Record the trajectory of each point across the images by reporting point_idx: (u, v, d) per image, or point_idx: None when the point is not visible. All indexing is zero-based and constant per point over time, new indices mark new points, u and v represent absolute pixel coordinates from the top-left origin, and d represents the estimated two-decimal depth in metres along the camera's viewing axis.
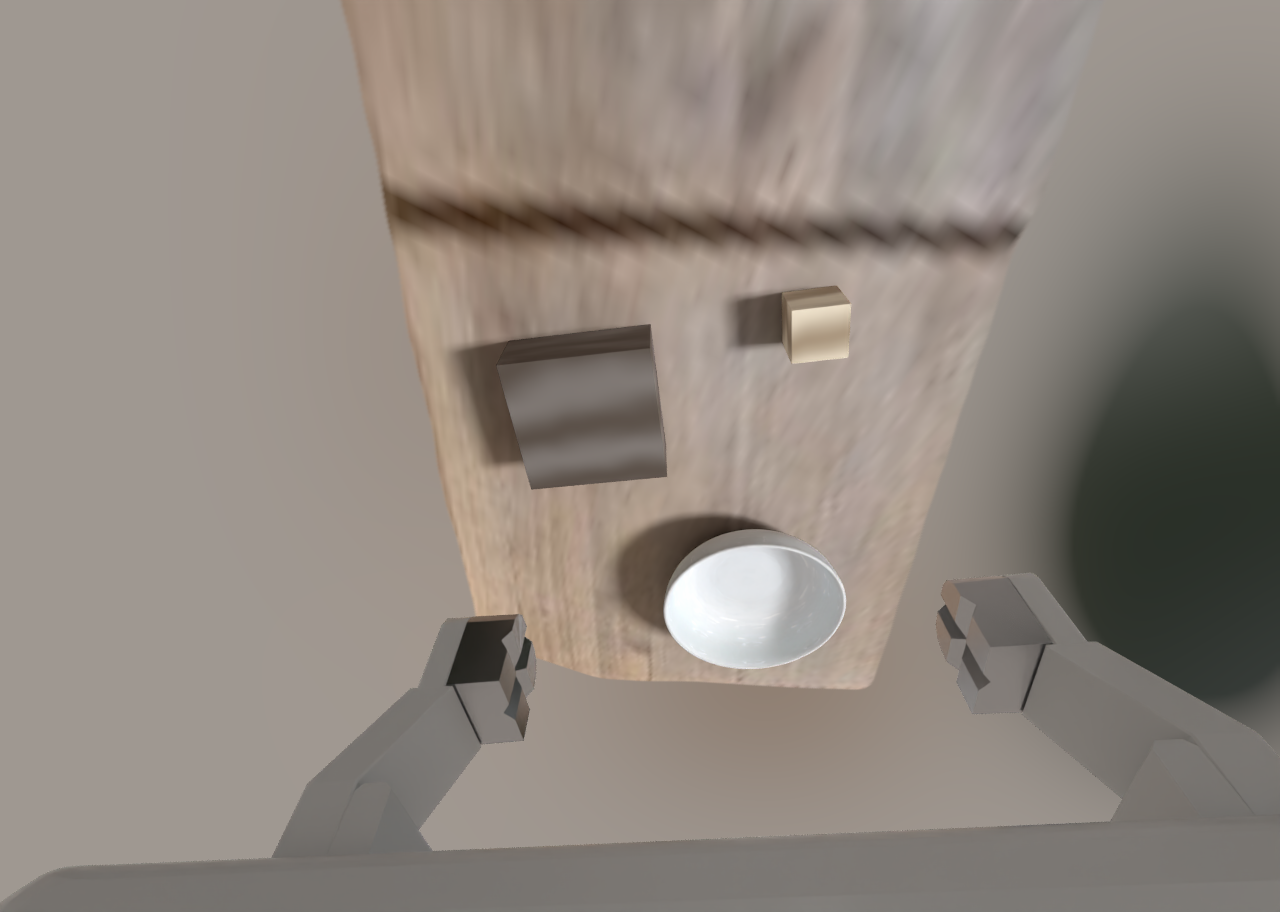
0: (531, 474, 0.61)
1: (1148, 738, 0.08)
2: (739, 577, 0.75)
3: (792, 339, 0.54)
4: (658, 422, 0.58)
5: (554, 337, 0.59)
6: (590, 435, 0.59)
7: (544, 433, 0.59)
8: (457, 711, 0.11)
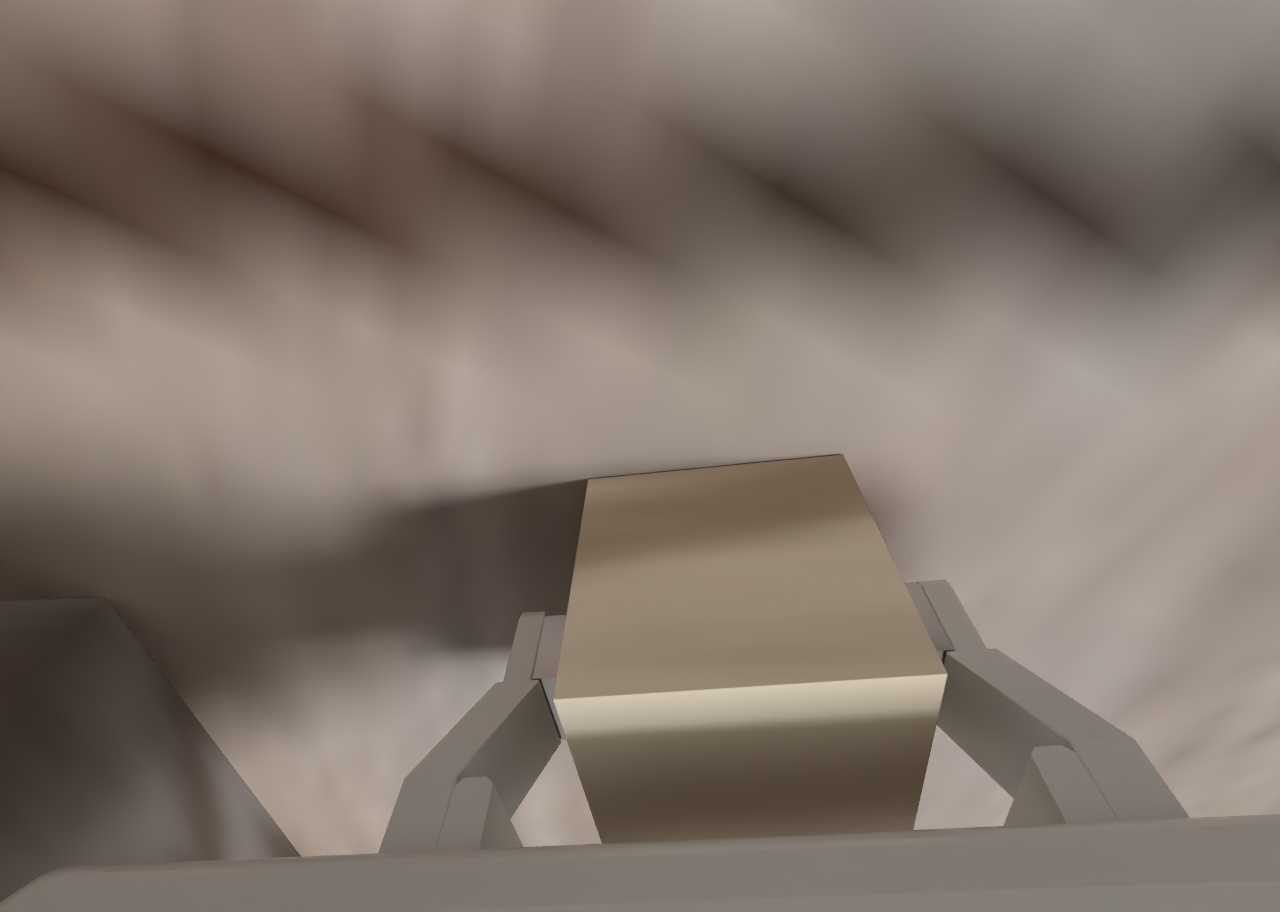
0: None
1: (1036, 745, 0.09)
2: None
3: (594, 801, 0.09)
4: None
5: None
6: None
7: None
8: (542, 706, 0.10)
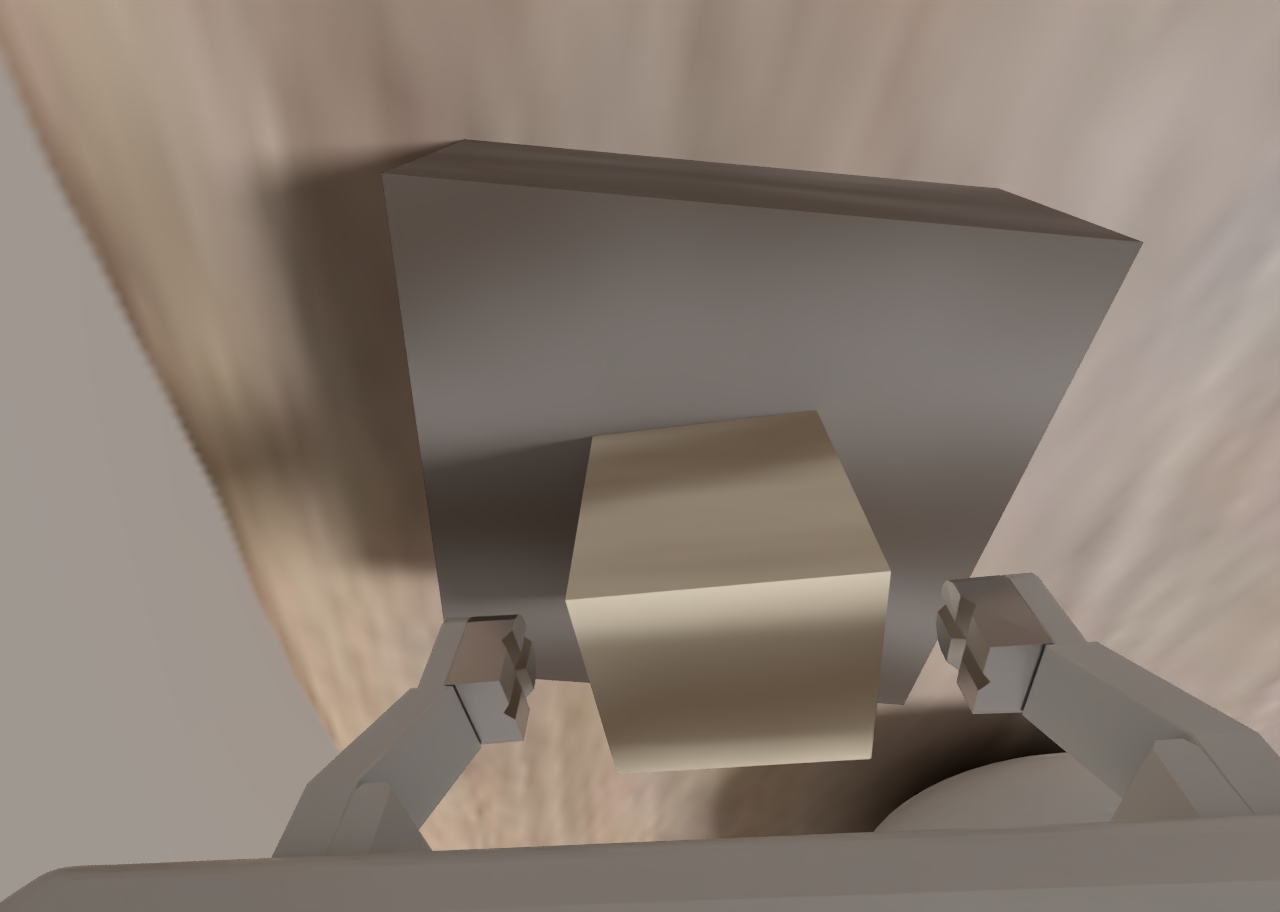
0: None
1: (1148, 738, 0.08)
2: None
3: (600, 700, 0.11)
4: (978, 550, 0.15)
5: (644, 158, 0.15)
6: None
7: (540, 514, 0.15)
8: (457, 711, 0.11)
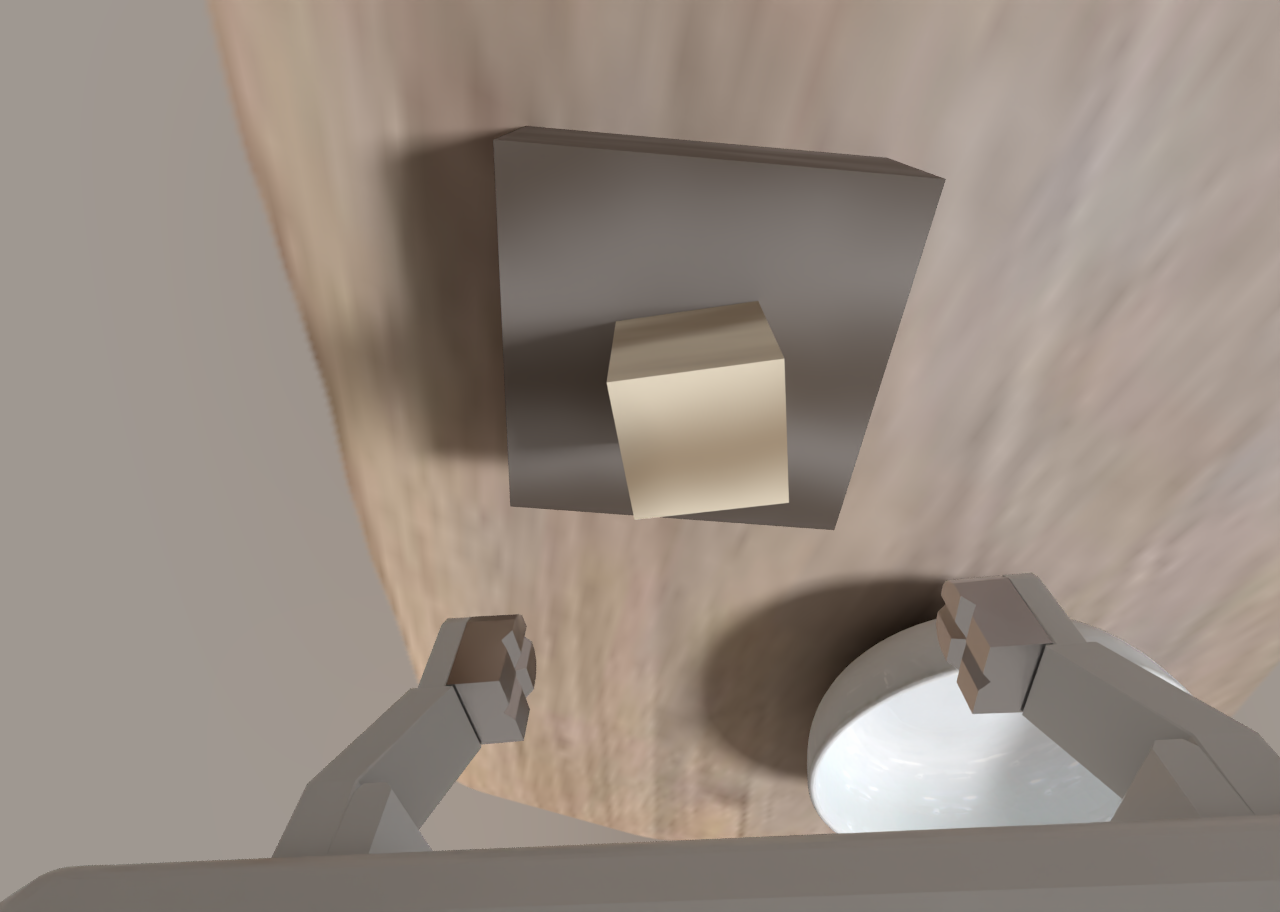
0: (519, 471, 0.25)
1: (1148, 738, 0.08)
2: (941, 692, 0.39)
3: (624, 459, 0.19)
4: (872, 398, 0.23)
5: (646, 137, 0.23)
6: None
7: (578, 373, 0.23)
8: (457, 711, 0.11)
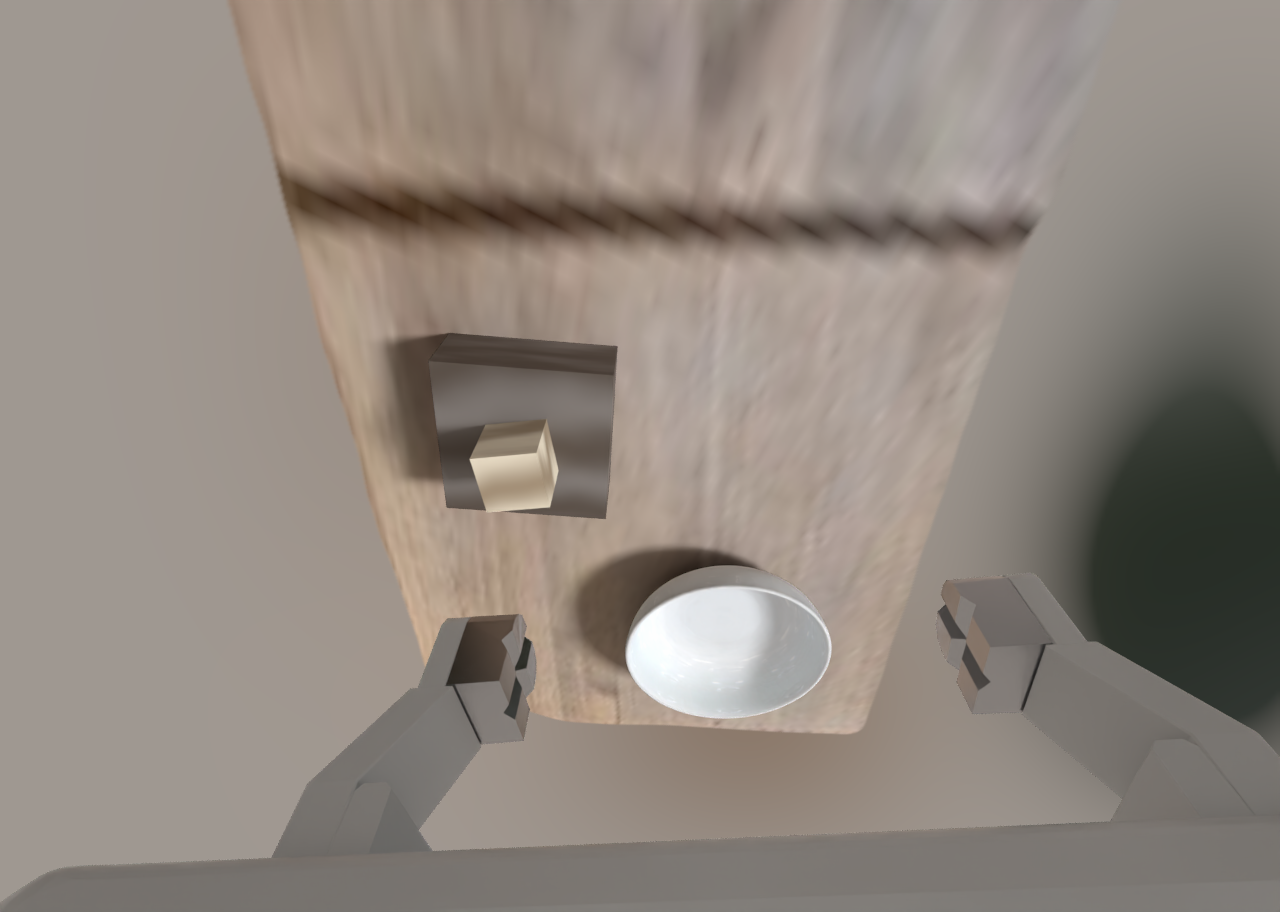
0: (449, 491, 0.52)
1: (1148, 738, 0.08)
2: (713, 616, 0.67)
3: (480, 487, 0.46)
4: (607, 458, 0.50)
5: (504, 339, 0.50)
6: None
7: (472, 448, 0.50)
8: (457, 711, 0.11)
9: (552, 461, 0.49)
